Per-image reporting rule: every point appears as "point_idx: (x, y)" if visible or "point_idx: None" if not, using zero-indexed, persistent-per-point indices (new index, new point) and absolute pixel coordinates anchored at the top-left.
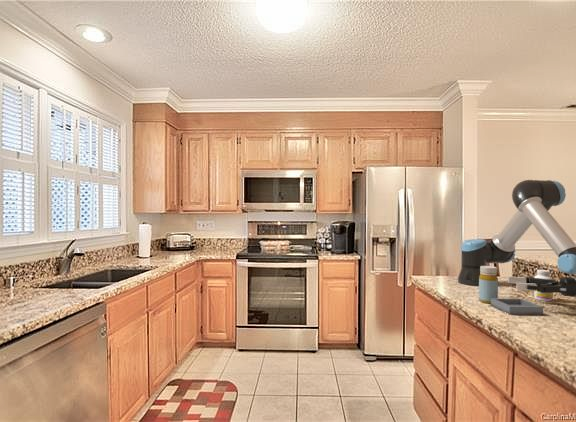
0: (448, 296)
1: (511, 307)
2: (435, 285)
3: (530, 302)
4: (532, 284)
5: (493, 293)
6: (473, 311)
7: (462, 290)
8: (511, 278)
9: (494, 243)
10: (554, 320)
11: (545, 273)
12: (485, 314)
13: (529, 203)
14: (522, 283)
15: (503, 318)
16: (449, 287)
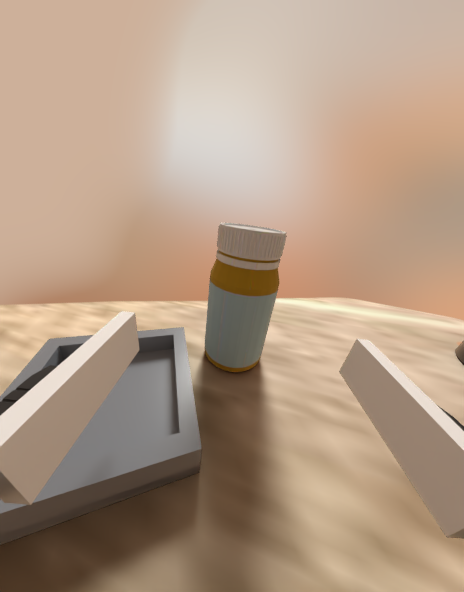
0: None
1: (46, 346)
2: (351, 305)
3: (82, 480)
4: (18, 404)
5: (207, 327)
6: (124, 306)
7: (350, 333)
8: (363, 360)
9: None
10: None
11: None
12: (91, 315)
13: None
14: (98, 332)
15: (31, 336)
16: (358, 319)
